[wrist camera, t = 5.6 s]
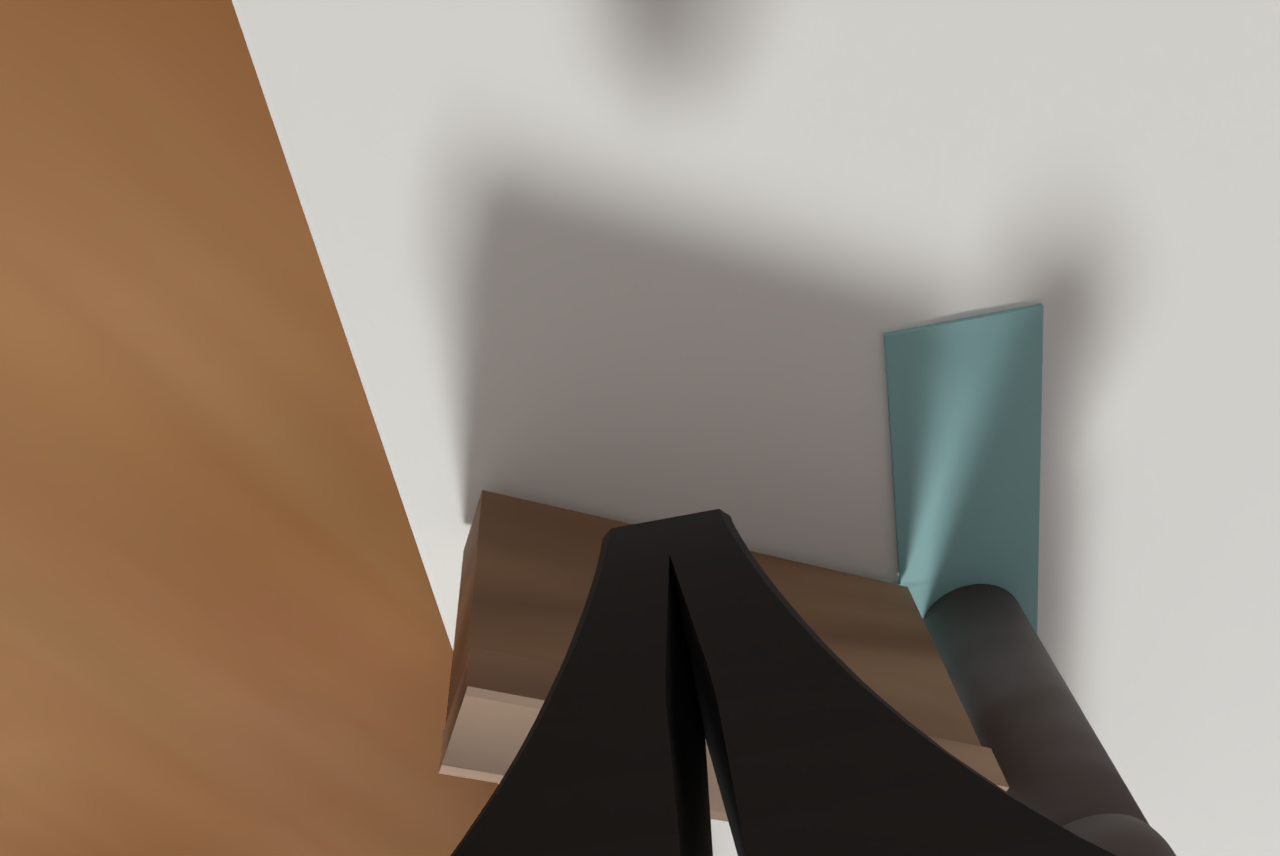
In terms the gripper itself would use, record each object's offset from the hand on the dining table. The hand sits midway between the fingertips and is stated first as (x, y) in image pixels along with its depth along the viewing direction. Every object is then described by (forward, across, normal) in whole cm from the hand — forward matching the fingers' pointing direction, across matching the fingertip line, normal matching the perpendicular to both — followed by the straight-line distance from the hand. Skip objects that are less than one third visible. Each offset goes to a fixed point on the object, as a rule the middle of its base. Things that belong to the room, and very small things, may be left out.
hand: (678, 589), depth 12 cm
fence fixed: (+5, -5, +10) cm, 12 cm away
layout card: (+5, -5, +4) cm, 8 cm away
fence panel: (+5, 0, +3) cm, 6 cm away
